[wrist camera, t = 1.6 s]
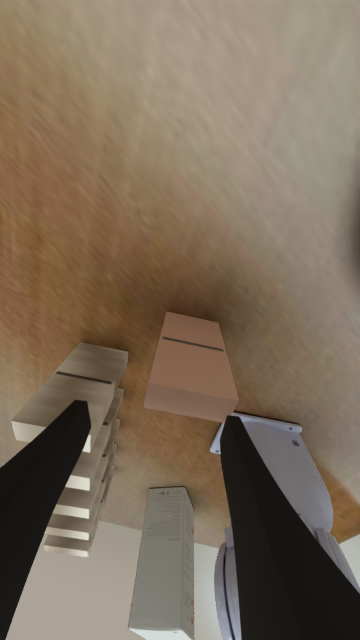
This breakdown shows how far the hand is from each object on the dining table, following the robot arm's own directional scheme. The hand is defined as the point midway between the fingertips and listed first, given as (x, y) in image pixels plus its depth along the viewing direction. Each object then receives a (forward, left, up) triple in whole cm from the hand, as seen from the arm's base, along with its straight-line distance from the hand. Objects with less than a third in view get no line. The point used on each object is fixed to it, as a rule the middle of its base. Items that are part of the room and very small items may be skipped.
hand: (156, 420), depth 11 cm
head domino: (-2, 0, -10) cm, 10 cm away
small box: (-7, +34, -10) cm, 36 cm away
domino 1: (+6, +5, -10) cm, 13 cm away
